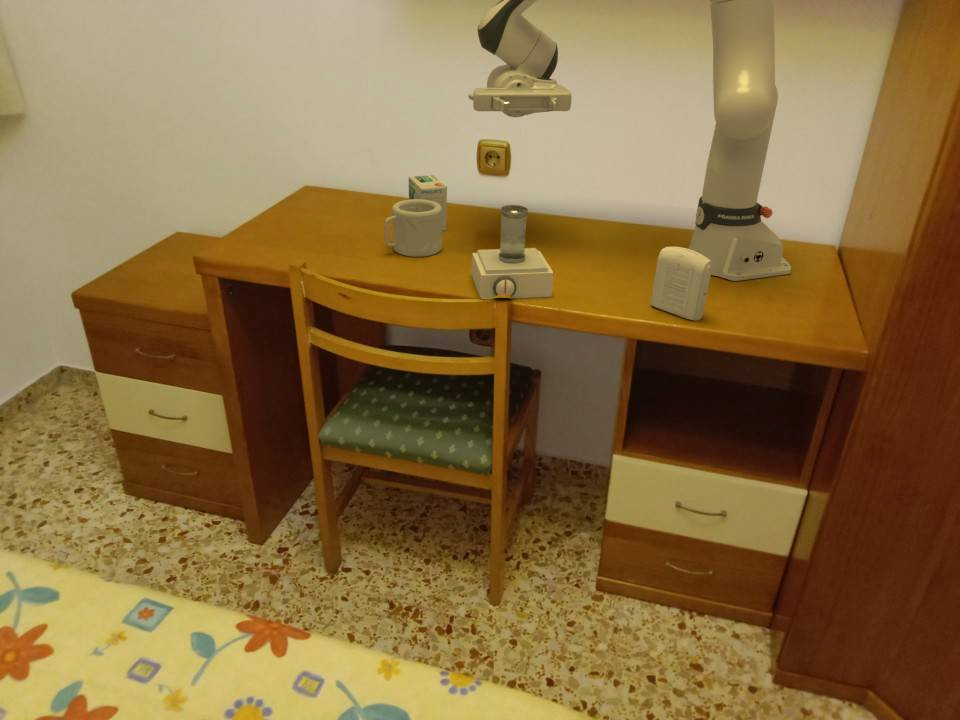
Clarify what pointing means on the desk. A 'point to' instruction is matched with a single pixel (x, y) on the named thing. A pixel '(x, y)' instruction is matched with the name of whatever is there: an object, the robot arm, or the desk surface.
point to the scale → (511, 275)
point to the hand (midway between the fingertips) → (528, 106)
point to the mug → (416, 228)
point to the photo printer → (681, 282)
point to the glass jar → (513, 233)
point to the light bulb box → (430, 192)
